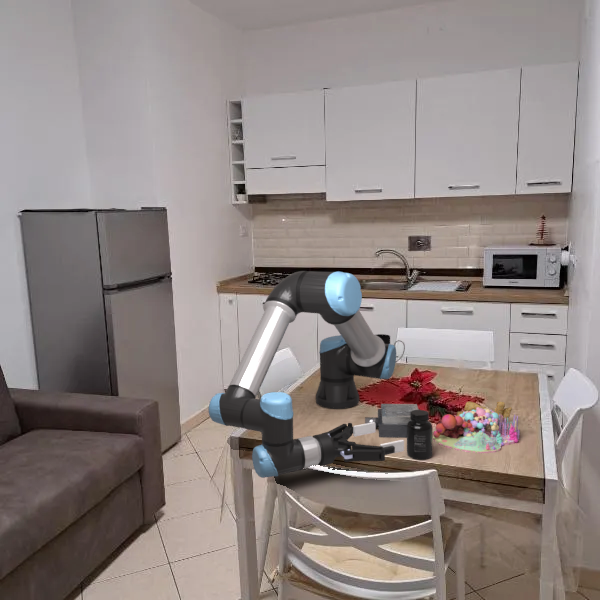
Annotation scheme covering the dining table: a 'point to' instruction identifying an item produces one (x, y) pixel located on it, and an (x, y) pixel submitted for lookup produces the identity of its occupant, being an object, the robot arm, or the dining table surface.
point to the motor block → (393, 419)
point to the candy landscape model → (477, 429)
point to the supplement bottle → (419, 435)
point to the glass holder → (387, 341)
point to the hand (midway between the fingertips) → (388, 435)
